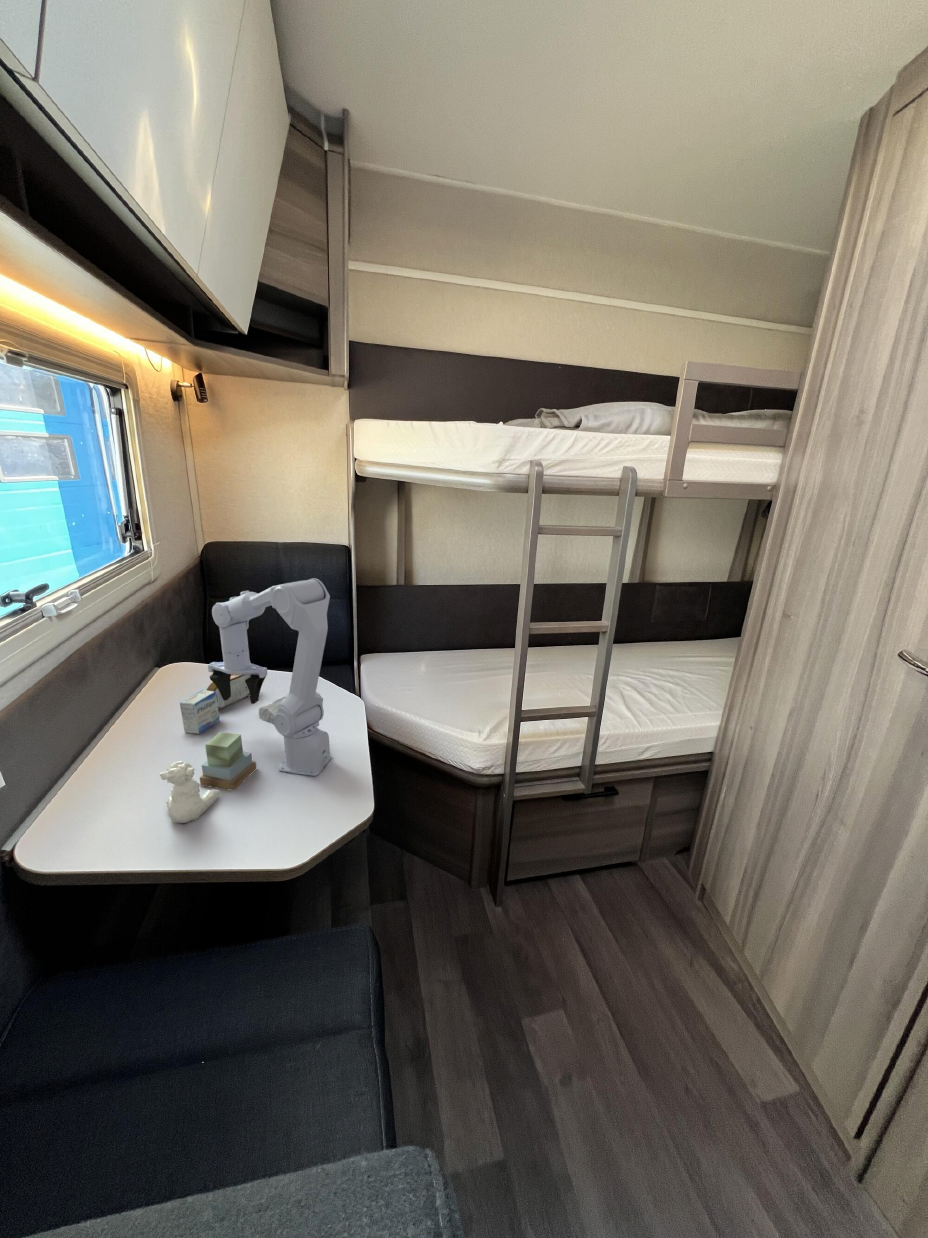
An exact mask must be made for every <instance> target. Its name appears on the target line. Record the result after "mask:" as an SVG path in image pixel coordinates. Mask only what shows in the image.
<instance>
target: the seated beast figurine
mask: <svg viewBox="0 0 928 1238" xmlns="http://www.w3.org/2000/svg"><path fill="white" fill-rule="evenodd" d="M194 771H195V768H193V765H191V764H190V763H187V762H186V761H185V760H177V761H175V762H174V761H173V762H172V763H171V764H170V765H169V766H168V767H167V769H166V770H165V771H161V772H159V776H160V778H161V780H163V781H166V780H167V781H166V783H170V784H172V785H173V786H172V790H171V795H169V796H168V799H167V800H166V806H167V809H168V814H169V817H170V818H172V819H171V820H172V821H173V822H175V823H178V824H184V823H190V822H193V821H195V820H197V819H198V818H199V817H200V816H201V815H202V814H203V813H205V812H206V811H207V809H209V807H210V806H212V804H213V803H214V802H215V801H217V799H218V798H219V796H220V795H221V791H220V790H219V789H208V790H206V792H204V793H203V794H202V796H201V794H200V792H201V789H200V786H201V784H200V782H197V780H196V779H195V778H194V777H193V776H194V775H195V772H194Z"/></svg>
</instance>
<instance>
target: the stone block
mask: <svg viewBox="0 0 928 1238" xmlns="http://www.w3.org/2000/svg"><path fill="white" fill-rule="evenodd" d="M285 697H286V696H283V697H280V698H279V699H276V700H274V701H272V703H270V704H268V705H263V706H261V707H259V708H258V717H259V719H260V720H261V721H263V722H266V723H270V724H272V725H274V715H275V713H276V712H277V710H278V708H279V704H280V703H281V701H282V700H283V699H284V698H285Z"/></svg>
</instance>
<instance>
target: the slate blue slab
mask: <svg viewBox="0 0 928 1238" xmlns="http://www.w3.org/2000/svg"><path fill="white" fill-rule="evenodd" d="M252 753H253V752H249V751H244V750H243V755H242V756H241V757H240V758H239V759H238V760H237V761H236V762H235V763H234V764H233V765H231V766H230V767H224V766H215V765H208V761H207V760H206V761H205V762H204V763H202V764H201V770H202V775H205V776H210V777H215V778H220V779H225V780H230V781H231V780H232V779H233V778H235V777H236V776H237V775H238V774H239V773H241V772H242V771H243V770H244V769H245V768H246V767H248V766H249V765H250V764H251V763H252V761H253V755H252Z"/></svg>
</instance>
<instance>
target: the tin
mask: <svg viewBox="0 0 928 1238" xmlns="http://www.w3.org/2000/svg"><path fill="white" fill-rule="evenodd" d="M249 677H251V676H250V675H243V674H231V678H230V687H231V697H230V698H229V699H227V700H226V701H225V700H223V698H222V696H221V694H220V692H219V690H218V688H217V687H216V685H215V684H214V683H213V682H212V681H211V683H210V684H209V685H208V687H207V688H206V690H207V691H214V692H216V697H217V705H218V710H219V709H224V708H226V707H228V706H232V705H233V704H235V703H239V702H240V701H242V700H245V699H246V698H248V697H250V693H249V689H248V686H247V684H246V682H245V680H246V679H248V678H249Z"/></svg>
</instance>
